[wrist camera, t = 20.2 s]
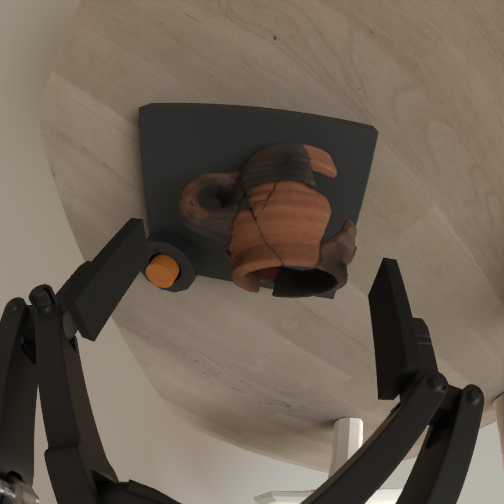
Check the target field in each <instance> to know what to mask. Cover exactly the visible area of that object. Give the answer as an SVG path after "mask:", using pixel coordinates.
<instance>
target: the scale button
mask: <svg viewBox="0 0 504 504" xmlns="http://www.w3.org/2000/svg"><path fill="white" fill-rule="evenodd" d="M178 273H179V266H178V264H177V262H176V261H175V260H174V259H173V258H171V257H170V256H168V255H165V254H159V255H156V256H155V257H154V258H153V260H152V261H151V263H150V264H149V265H148V267H147V269H146V275H147V277H148V279H149V280H150V281H151V282H152V283H153V284H154V285H156V286H158V287H161V288H168V287H170V286H171V285H172V284H173V282H174V280H175V279H176V277H177V275H178Z"/></svg>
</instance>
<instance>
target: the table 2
mask: <svg viewBox="0 0 504 504" xmlns="http://www.w3.org/2000/svg"><path fill="white" fill-rule="evenodd" d="M362 436H363V422H362V421H361V419H359V418H352V417H349V418H343V419H339V420H338V421H336V422H335V424H334V437H333V455H332V462H331V466H330V471H329V476H328V479H329V478H330V477H331V476H332V475H333V474H334V473H335V472H336V471H337V470H338V469H339V468H341V467H342V466H343V465H344V464H345V463H346V462H347V461H348V460H349V459H350V458H351V457H352V456H353V455H354V454H355V452H356V451H357V450H358V449H359V448H360V447H361V446H362ZM402 490H403V488H400V489H378V490H377V491H376V492H375V493H374V494H373V496H372V497H371V498H370V499H369V500H368V501H367V502H366V503H365V504H396V502H397V500H398V498H399V496H400V494H401V492H402ZM314 491H315V490H311V491H271V492H268V493H265V494H263V495H259V496H257V497H254V499H255V501H256V502H257V503H258V504H300V503H301V502H302V501H303V500H305V499H306V498H307V497H308V496H310V495H311V494H312V493H313V492H314Z"/></svg>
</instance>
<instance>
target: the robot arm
mask: <svg viewBox="0 0 504 504" xmlns="http://www.w3.org/2000/svg"><path fill="white" fill-rule="evenodd" d="M148 259H149V256H148V250H147V244H146V238H145V231H144V225H143V219H136V218H131V219H130V220H129V221H128V222H127V223H126V224H125V225H124V226H123V227H122V228H121V229H120V230H119V231H118V232H117V234H116V235H115V236H114V237H113V238H112V239H111V240H110V241H109V242H108V243H107V245H106V246H105V247H104V248H103V249H102V250H101V251H100V252H99V254H98V255H97V256H96V257H95V258H94V259H93V261H92V262H91V261H86V262H85V263H84V264H82V265H80V266H79V267H78V268H77V270H76V271H75V272H74V274H72V275H71V277H70V278H69V279H68V280H67V281H66V283H65V284H64V285H63V286H62V288H61V289H60V290H59V291H58V292H57V294H56V295H55V294H54V292H53V290H52V287H51V286H49V285H46V284H43V285H39V286H37V287H35V288H34V289H33V290H32V291H31V293H30V294H29V300H30V302H31V304H32V305H27V304H26V303H25V301H24V299H23V298H20V297H17V298H14V299H12V300H10V301H9V302H8V303H7V305H6V307H5V310H4V312H3V315H2V318H1V321H0V504H38V503H39V497H38V496H37V495H36V494H35V492H34V491H33V489H32V485H33V477H34V476H33V475H34V426H35V410H36V399H37V388H38V385H39V393H40V400H41V408H42V414H43V420H44V425H45V431H46V436H47V441H48V449H47V450H46V451H45V454H44V456H45V462H46V466H47V470H48V474H49V477H50V481H51V484H52V488H53V491H54V494H55V497H56V500H57V503H58V504H181V503H179V502H177V501H176V500H174V499H172V498H170V497H169V496H167V495H165V494H163V493H161V492H160V491H158V490H156V489H154V488H151V487H148V486H146V485H143V484H140V483H138V482H135V481H133V480H129V482H119V480H118V478H117V476H116V473H115V471H114V470H113V468H112V466H111V465H110V464H109V462H108V460H107V458H106V455H105V452H104V449H103V446H102V443H101V440H100V437H99V434H98V430H97V427H96V424H95V420H94V416H93V413H92V409H91V405H90V401H89V397H88V394H87V389H86V385H85V380H84V375H83V371H82V366H81V360H80V355H79V349H78V343H77V338H76V336H75V334H76V332H77V330H79V332H80V334H81V336H82V337H83V338H86V339H89V340H91V341H95V340H96V338H97V336H98V335H99V333H100V331H101V330H102V328H103V327H104V325H105V323H106V322H107V320H108V319H109V317H110V316H111V314H112V312H113V311H114V309H115V308H116V306H117V305H118V303H119V302H120V300H121V299H122V297H123V296H124V294H125V293H126V291H127V290H128V288H129V287H130V285H131V284H132V282H133V281H134V279H135V278H136V276H137V275H138V273H139V272H140V270H141V269H142V268H143V266H144V265H145V263H146V262H147V260H148ZM368 299H369V306H370V313H371V321H372V330H373V339H374V348H375V359H376V371H377V386H378V399H379V400H394V399H395V398H396V397H397V396H398V395H399V394H400V402H399V403H398V404H397V405H396V406H395V407H394V408H393V409H392V410H391V411H390V412H391V413H390V414H389V415H388V417H387V418H386V419H385V420H384V421H383V423H382V424H381V425H380V426H379V427H378V428H377V430H376V431H375V432H374V433H373V434H372V435H371V436H370V437H369V439H368V440H367V441H366V442H365V443H364V444H363V445H362V446H361V447H360V448H359V449H358V450H357V451H356V452H355V454H354V455H353V456H352V457H351V458H350V459H349V460H348V461H347V462H346V463H345V464H344V465H343V466H342V467H341V468H339V469H338V470H337V471H336V472H335V473H334V474H333V475H332V476H331V477H330V478H329V479H328V480H327V481H326V482H325V483H323V484H322V485H321V486H320V487H319V488H318V489H317V490H315V491H314V492H313V493H312V494H311V495H310V496H308V497H307V498H306V499H305V500H303V501H302V502H301V503H300V504H365V503H366V502H367V501H368V500H369V499H370V498H371V497H372V496H373V494H374V493H375V492H376V491H377V490H378V489H379V488H380V487H381V485H382V484H383V483H384V482H385V481H386V480H387V478H388V477H389V476H390V475H391V474H392V472H393V471H394V470H395V469H396V468H397V466H398V465H399V464H400V462H401V461H402V460H403V459H404V457H405V456H406V455H407V453H408V452H409V451H410V449H411V448H412V446H413V445H414V444H415V442H416V441H417V439H418V438H419V437H420V435H421V434H422V432H423V431H424V429H425V428H426V426H427V425H429V428H428V431H427V434H426V437H425V439H424V442H423V445H422V447H421V450H420V452H419V455H418V457H417V459H416V462H415V464H414V466H413V469H412V471H411V473H410V475H409V477H408V480H407V482H406V484H405V486H404V488H403V490H402V492H401V494H400V496H399V498H398V500H397V502H396V504H456V503H457V500H458V498H459V495H460V492H461V490H462V487H463V484H464V481H465V478H466V475H467V472H468V468H469V465H470V462H471V458H472V455H473V451H474V447H475V444H476V439H477V435H478V431H479V426H480V422H481V417H482V411H483V406H484V395H483V392H482V391H481V389H480V388H479V387H477V386H476V385H473V384H470V385H467V386H466V387H465V388H464V389H460V388H457V387H454V386H451V385H449V384H448V382H447V380H446V378H445V377H444V376H443V374H441V373H439V372H438V368H437V364H436V359H435V355H434V350H433V346H432V342H431V338H430V334H429V330H428V327H427V325H426V324H425V322H424V321H423V319H421V318H413V317H412V313H411V309H410V305H409V301H408V298H407V294H406V290H405V287H404V283H403V280H402V276H401V273H400V270H399V266H398V263H397V260H395V259H389V258H383V260H382V263H381V265H380V268H379V270H378V273H377V275H376V278H375V280H374V283H373V285H372V288H371V290H370V292H369V295H368Z"/></svg>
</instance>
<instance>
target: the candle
mask: <svg viewBox="0 0 504 504" xmlns="http://www.w3.org/2000/svg"><path fill="white" fill-rule="evenodd" d="M493 405H494V410H495V415H496V420H497V425H498V431H499V437H500V443H501V450H502V460H503V469H504V393H503V394H502V395H500V396H499V397H498V398H497V399H496V400H495V401H494V403H493Z"/></svg>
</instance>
